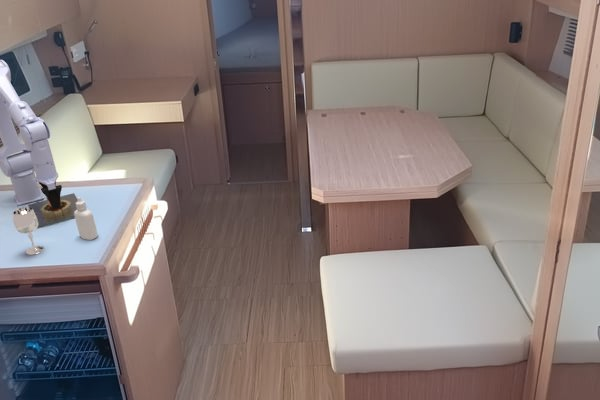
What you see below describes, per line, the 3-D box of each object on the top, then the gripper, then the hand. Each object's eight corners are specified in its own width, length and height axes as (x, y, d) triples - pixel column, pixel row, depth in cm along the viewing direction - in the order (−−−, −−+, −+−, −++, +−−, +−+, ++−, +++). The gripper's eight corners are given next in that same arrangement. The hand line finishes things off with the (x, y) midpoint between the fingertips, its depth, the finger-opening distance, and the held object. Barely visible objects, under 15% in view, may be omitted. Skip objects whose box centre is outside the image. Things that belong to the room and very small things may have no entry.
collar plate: (28, 206, 176) (26, 200, 175) (74, 195, 182) (72, 188, 181) (36, 228, 162) (34, 221, 161) (85, 215, 168) (83, 207, 167)
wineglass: (21, 257, 147) (8, 217, 142) (25, 247, 152) (12, 208, 147) (45, 253, 148) (32, 213, 143) (47, 243, 153) (36, 204, 148)
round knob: (53, 208, 172) (49, 193, 170) (65, 207, 172) (61, 193, 170) (48, 213, 169) (44, 198, 167) (60, 213, 169) (56, 198, 166)
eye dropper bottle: (95, 230, 159) (85, 192, 153) (99, 238, 154) (89, 199, 149) (79, 234, 157) (68, 196, 152) (82, 242, 152) (72, 203, 147)
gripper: (25, 158, 167) (37, 198, 173) (31, 172, 156) (44, 215, 162) (50, 152, 171) (61, 193, 176) (58, 166, 159) (69, 209, 165)
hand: (54, 203), depth 169 cm, fingers open, 7 cm apart
